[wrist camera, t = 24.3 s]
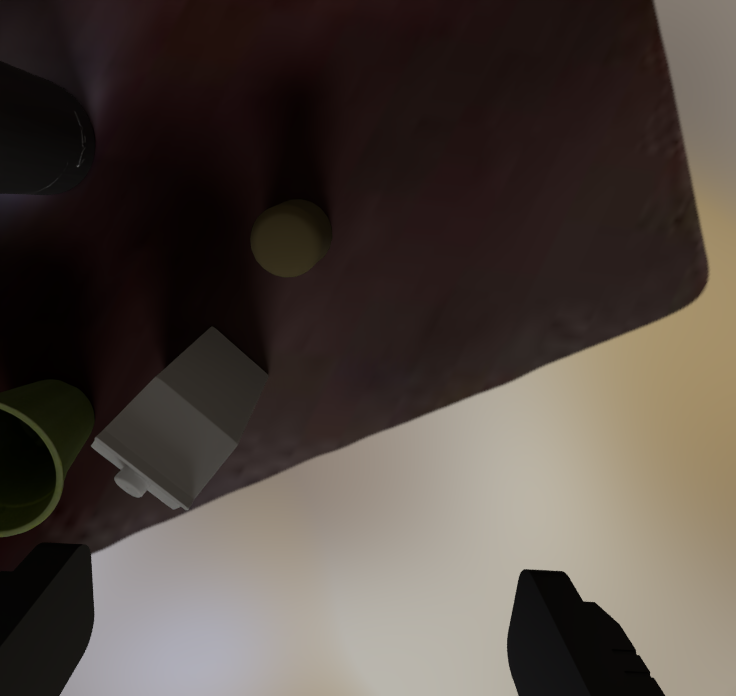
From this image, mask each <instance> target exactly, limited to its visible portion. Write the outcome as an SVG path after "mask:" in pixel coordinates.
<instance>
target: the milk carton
mask: <svg viewBox="0 0 736 696" xmlns="http://www.w3.org/2000/svg"><path fill="white" fill-rule="evenodd" d="M268 377H269V376H268V374H267V373H266V372H265V371H263V370H262V369H261V368H260V367H259V366H258V365H257V364H255V363H254V362H253V361H252V360H251V359H250V358H249V357H248V356H246V355H245V354H244V353H243V352H242V351H241V350H240V349H238V348H237V347H236V346H235V345H234V344H233V343H232V342H230V341H229V340H228V339H227V338H226V337H225V336H224V335H223V334H221V333H220V332H219V331H218V330H217V329H216V328H214V327H210V328H209V329H208V330H207V331H206V332H205V333H203V334H202V335H201V336H200V337H199V338H198V339H197V340H196V341H195V342H194V343H192V344H191V345H190V346H189V347H188V348H187V349H186V350H185V351H184V352H182V353H181V354H180V355H179V356H178V357H177V358H176V359H175V360H174V361H173V362H171V363H170V364H169V365H168V366H167V367H166V368H165V369H164V370H163V371H162V372H160V373H159V374H158V375H157V376H156V377H155V378H154V379H153V380H152V381H151V382H150V383H149V384H148V385H147V386H146V387H145V388H144V389H143V390H142V391H141V392H140V393H139V394H138V395H137V396H136V397H135V398H134V399H133V400H132V401H131V402H130V403H129V404H128V405H127V406H126V407H125V408H124V409H123V410H122V411H121V412H120V413H119V414H118V416H117V417H116V418H115V419H114V420H113V421H112V422H111V423H110V424H109V425H108V426H107V427H106V428H105V429H104V430H103V431H102V432H101V433H100V434H98V435H97V436H96V437H95V441H94V443H93V444H92V445H91V447H92V448H94V449H95V450H96V451H97V452H98V453H100V454H101V455H102V456H104V457H105V458H106V459H108V460H109V461H110V462H111V463H113V464H114V465H115V466H117V467H118V468H119V469H121V471H120V472H119V473H118V474H117V475H116V476H115V478H114V480H115V482H116V483H117V485H118V486H119V487H121V488H122V489H123V490H124V491H126V492H127V493H129V494H130V495H132V496H134V497H142V495H143V494H144V493H145V492H146V490H148V491H149V492H151V493H152V494H153V495H154V496H156V497H157V498H158V499H160V500H161V501H162V502H164V503H165V504H166V505H168V506H169V507H170V508H172V509H173V510H174V509H176V508H179V507H182V508H183V509H185V510H188V509H189V508H190V506H191V504H192V502H193V500H194V499H195V498H196V497H197V495H198V494H199V493H200V492H201V490H202V489H203V488H204V487H205V485H206V484H207V483H208V482H209V480H210V479H211V478H212V477H213V475H214V474H215V473H216V472H217V470H218V469H219V468H220V467H221V465H222V464H223V463H224V462H225V460H226V459H227V458H228V457H229V455H230V454H231V453H232V452H233V450H234V449H235V448H236V447H237V445H238V443H239V441H240V439H241V436H242V434H243V432H244V430H245V428H246V425H247V423H248V421H249V419H250V417H251V414H252V412H253V410H254V408H255V406H256V404H257V401H258V399H259V397H260V395H261V393H262V390H263V388H264V386H265V384H266V382H267V379H268Z"/></svg>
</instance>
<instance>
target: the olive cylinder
mask: <svg viewBox="0 0 736 696" xmlns="http://www.w3.org/2000/svg"><path fill="white" fill-rule="evenodd" d="M331 240H332V227H331V224H330V222H329V219H328V217H327V215H326V214H325V213H324V212H323V210H322V209H321V208H320V207H318V206H317V205H315V204H314V203H312V202H310V201H306V200H303V199H292V200H288V201H285V202H283V203H280V204H279V205H276V206H274V207H271V208H269V209H267V210H265V211H264V212H263V213H262V214H261V215H260V216H258V218H257V220H256V221H255V223H254V225H253V226H252V231H251V236H250V241H251V249H252V252H253V254H254V256H255V259H256V260H257V262H258V263H259V264H260V265H261V266H262V267H263V268H264V269H265V270H267V271H268V272H270V273H271V274H273V275H277V276H281V277H296V276H299V275H301V274H304V273H306V272H307V271H308V270H309V269H311V268H312V267H313V266H314V265H315V264H316V263H317V262H318V261H319V260H321V259H322V258H323V257H324V256H325V254H326V253H327V251H328V250H329V248H330V244H331Z"/></svg>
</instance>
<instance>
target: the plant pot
mask: <svg viewBox="0 0 736 696" xmlns="http://www.w3.org/2000/svg"><path fill="white" fill-rule="evenodd" d="M93 425H94V411H93V408H92V405H91V403H90V401H89V400H88V398H87V397H86V396H85V394H84V393H83V392H82V391H81V390H79V389H78V388H77V387H74V386H72V385H69V384H67V383H65V382H63V381H60V380H54V379H47V380H41V381H37V382H34V383H31V384H27V385H24V386H21V387H17V388H14V389H11V390H8V391H5V392H1V393H0V537H6V536H12V535H16V534H20V533H23V532H25V531H28V530H30V529H32V528H33V527H35V526H37V525H38V524H40V523H41V522H42V521H44V520H45V519H46V518H47V517H48V516H49V515H50V514H51V513H52V511H53V510H54V508H55V507H56V505H57V503H58V501H59V499H60V497H61V494H62V490H63V483H64V479H65V477H66V473H67V471H68V469H69V468H70V466H71V464H72V463H73V461H74V460H75V458H76V456H77V455H78V453H79V451H80V450H81V448H82V447H83V445H84V443H85V442H86V440H87V439H88V437H89V435H90V434H91V431H92V428H93Z"/></svg>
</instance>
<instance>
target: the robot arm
mask: <svg viewBox="0 0 736 696" xmlns="http://www.w3.org/2000/svg"><path fill="white" fill-rule="evenodd" d="M94 151H95V140H94V133H93V129H92V126H91V123H90V120H89V118H88V116H87V114H86V113H85V111H84V109H83V107H82V106H81V105H80V104H79V103H78V101H77V100H76V99H75V98H74V97H73V96H72V95H71V94H70V93H68V92H67V91H66V90H65V89H64V88H62V87H60V86H58V85H56V84H55V83H53V82H50V81H48V80H46V79H43V78H41V77H38V76H36V75H33V74H31V73H28V72H26V71H24V70H21V69H19V68H16V67H14V66H11V65H9V64H6V63H4V62H2V61H0V194H31V195H51V194H59V193H62V192H65V191H68V190H70V189H71V188H73V187H75V186H76V185H78V184H79V183H80V182H81V181H82V179H83V178H84V177H85V176H86V175H87V173H88V171H89V169H90V167H91V165H92V161H93V158H94ZM93 624H94V600H93V583H92V564H91V552H90V549H89V547H88V546H87V545H83V544H64V543H46V542H44V543H40V544H38V545H37V546H36V547H35V548H34V549H33V550H32V551H31V552H30V553H29V554H28V556H27V557H26V558H25V559H24V560H23V561H22V562H21V563H20V564H19V565H18V567H17V568H16V569H15V570H14V571H13V572H9V571H1V572H0V696H59V695H60V694H61V692H62V690H63V689H64V687H65V685H66V683H67V682H68V680H69V678H70V677H71V675H72V673H73V672H74V670H75V668H76V666H77V665H78V663H79V661H80V659H81V658H82V656H83V654H84V652H85V650H86V648H87V646H88V643H89V640H90V637H91V633H92V629H93ZM507 652H508V662H509V667H510V671H511V675H512V678H513V680H514V683H515V686H516V689H517V692H518V695H519V696H665V695H664V693H663V691H662V690H661V688H660V687H659V685H658V684H657V682H656V681H655V679H654V678H651V676H650V671H649V670H648V668H647V667H646V665H645V663H644V662H643V660H642V659H641V657H640V656H639V655H637V654H636V650H635V648H634V646H633V645H632V643H631V642H630V640H629V639H628V637H627V636H626V634H625V632H624V631H623V629H622V628H621V626H620V625H619V624H618V623H617V622H616V621H615V620H614V619H613V618H612V617H611V616H610V615H608V614H607V613H606V612H605V611H604V610H603V609H602V608H601V607H599V606H598V605H597V604H596V603H595V602H583V600H582V599H581V597H580V595H579V594H578V592H577V590H576V588H575V587H574V585H573V583H572V582H571V580H570V578H569V577H568V575H566V573H565V572H562V571H547V570H527V569H526V570H525V569H524V570H523V571H522V572H521V574H520V576H519V580H518V585H517V590H516V595H515V600H514V605H513V611H512V616H511V621H510V626H509V631H508V638H507Z"/></svg>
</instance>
